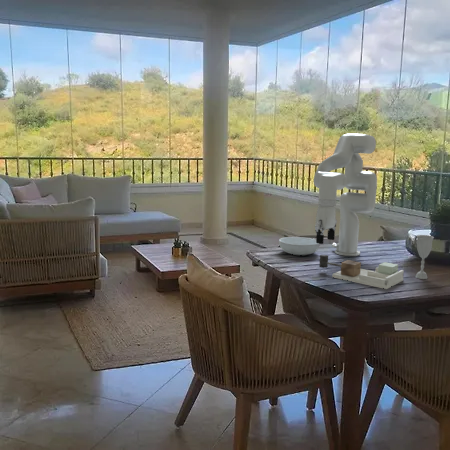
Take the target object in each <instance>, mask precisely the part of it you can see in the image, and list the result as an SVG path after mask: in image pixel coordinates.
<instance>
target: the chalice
mask: <svg viewBox="0 0 450 450" xmlns="http://www.w3.org/2000/svg"><path fill="white" fill-rule="evenodd" d="M434 238H435V237H434V236H432V235H428V234H427V235H426V234H418V235H416V239H417V241H416V250H417V253H418V256H419V257H420V258H421V261H420V263H421V265H419V266H420V270H419V271H418V272H417V273H416V275H415V278H416V279H420V280H427V279H428V276H427V273H426V272H425V271H424V268H425V259H427V258H428V256H429V255H430V253H431V251H432V249H433V240H434Z"/></svg>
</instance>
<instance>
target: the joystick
mask: <svg viewBox="0 0 450 450" xmlns="http://www.w3.org/2000/svg"><path fill="white" fill-rule="evenodd" d="M318 266H319V268H324V269H327V268H328V266H333V267H334V266H335V267H340V271H341V274H343V275H348V276H353V277H354V276H356V275H359V274H360V269H362V268H361V267H362V262H361V261H356V260H350V259H346V260H344V261H341V264H339V263H334V262H330V261H329V255H328V254H320V255H319V264H318Z"/></svg>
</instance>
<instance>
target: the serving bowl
mask: <svg viewBox="0 0 450 450" xmlns="http://www.w3.org/2000/svg"><path fill="white" fill-rule="evenodd" d="M278 244H279V247H280V249H281V250H282V251H284V252H285V253H287V254H291V255H292V254H293V256H300V255H302V256H307V255H311V254H314V253H316V252H317V251H318V249H319V248H320V246H321V244H319V243H316V239H315V238H310V237H302V236H301V237H300V236H288V237H281V238H279V239H278Z"/></svg>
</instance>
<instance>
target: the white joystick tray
mask: <svg viewBox="0 0 450 450" xmlns="http://www.w3.org/2000/svg"><path fill="white" fill-rule="evenodd" d="M404 271H405V270H404V269H400V270H399V264H397V263H392V262H386V261H384V262H381V263H380V264H378V266H377V267H375V271H374V270H369V269H365V268H364V269H363V268H361V269H360V274H359V275H356V276H354V277H353V276H348V275H343V274H341V270H339V271H336V272H335V273H332V278H333V277H334V278H335V279H339V280H342V279H343V280H344V281H347V280H348V281H347V282H351V281H352V283H357V284H362V285H366V286H370V287H375V288H380V289H383V288H384V290H388V289H390V288H392V287H393V286H395V285H397V284H400V283H402V282H403V281H404V273H405V272H404ZM391 286H392V287H391Z"/></svg>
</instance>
